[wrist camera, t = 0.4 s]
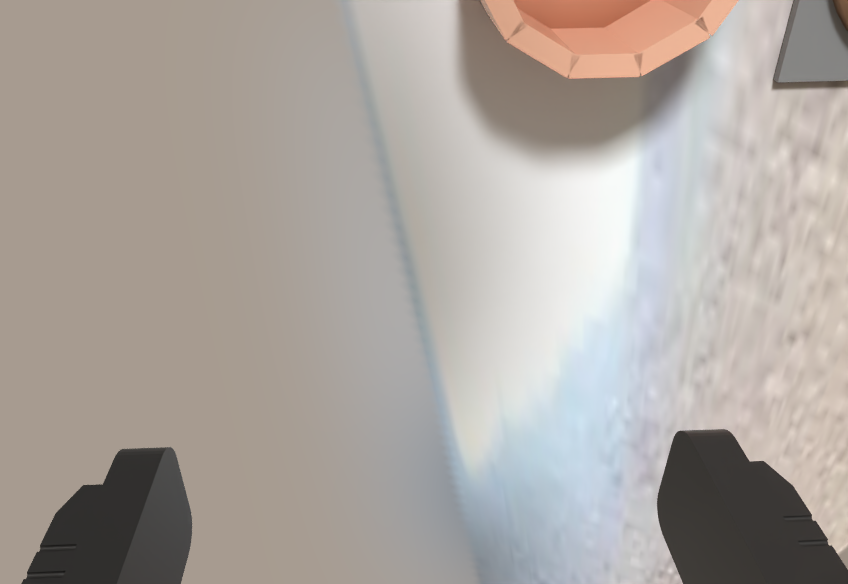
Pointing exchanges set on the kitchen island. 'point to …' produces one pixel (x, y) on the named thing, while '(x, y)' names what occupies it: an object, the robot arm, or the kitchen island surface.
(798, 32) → the mat
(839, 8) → the lid
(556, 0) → the bowl
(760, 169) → the kitchen island surface
